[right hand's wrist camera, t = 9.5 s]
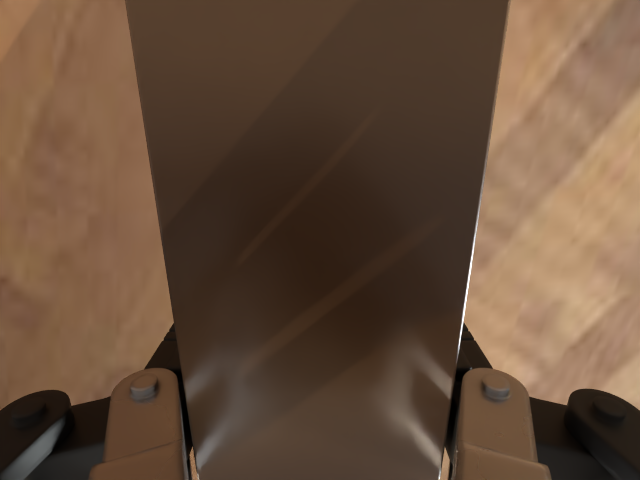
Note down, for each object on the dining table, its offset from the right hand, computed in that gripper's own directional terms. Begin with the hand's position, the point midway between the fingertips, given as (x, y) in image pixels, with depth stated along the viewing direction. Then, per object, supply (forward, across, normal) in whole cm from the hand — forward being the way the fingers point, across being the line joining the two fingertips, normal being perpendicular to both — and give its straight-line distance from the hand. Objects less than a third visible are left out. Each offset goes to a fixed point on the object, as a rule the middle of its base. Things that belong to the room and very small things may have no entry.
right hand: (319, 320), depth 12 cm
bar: (+4, 0, +9) cm, 10 cm away
